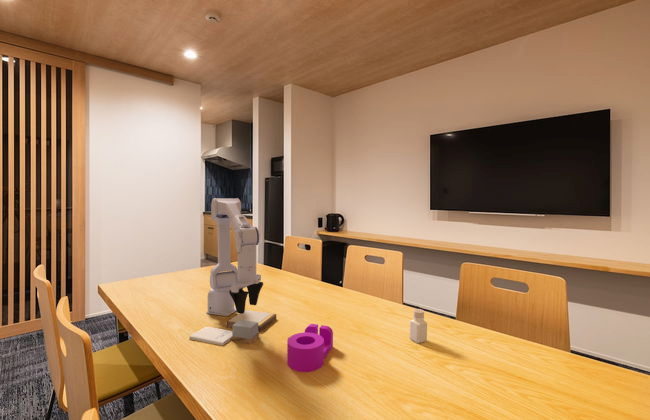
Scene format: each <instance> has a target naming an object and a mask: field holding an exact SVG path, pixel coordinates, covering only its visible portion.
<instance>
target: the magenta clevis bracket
mask: <svg viewBox="0 0 650 420" xmlns="http://www.w3.org/2000/svg"><path fill="white" fill-rule="evenodd" d="M286 343H287V344H286V345H287V347H286V348H287V351H286V352H287V353H286V354H287V355H286V359H287V361H286V364H287V366H288V367H289V368H290V369H291V370H293V371H295V372H300V373H310V372H314V371H317V370H319V369H321V368H322V367H323V366H324V363H325V362H324V361H325V359H326V357H327V355H328V354H329V353H330V352H331V350H332V349H333V347H334V331H333V329H332V327H330V326H329V325H323V324H321V325H320V327H319V324H317V323H310V324H309V325H307V326H306V327H305V328H304V332H298V333H295V334H293V335H290V336H289V337H288V338H287V341H286Z"/></svg>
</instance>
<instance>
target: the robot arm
mask: <svg viewBox="0 0 650 420" xmlns="http://www.w3.org/2000/svg"><path fill="white" fill-rule="evenodd" d="M210 210H211V211H210V212H211V213H210V214H211V216H210V217H211V220H212V221H215V222H216V230H217V231H216V233H217V234H216V235H217V236H216V237H217V239H216V240H217V241H216V242H217V264H216V265H215V266H212V268H211V269H210V276H209V285H210V289H209V291H208V293H207V311H206V314H209V315H217V316H223V317H224V316H225V317H229V315H231V314H233V313H235V312H236V313H237V314H240V313H241V314H243V313H244V311H245V310H246V303H247V298H248V301H249V302H248V303H249V305H250V306H257V304H258V300H259V295H260V292H261V290H262V288H263V286H264V282H263V281H261V280H262V275H261V274H257V246H258V245H259V243H260V230H259V229H258V227H257V226H252V225H251V223H250V222H249V220H248V218H247V217H246V216H245V215H244V214H241V212H242V202H241V200H240V199H239V198H238V197H236V198H216V197H213V198H212V200H211V204H210ZM231 229H232V231H233V233H234V242H235V251H236V253H237V267H236V266H235V265H234V264H232V263H231V261H232V260H231V258H232V257H231ZM245 288H246V289H247V291H246V290H244V289H245Z"/></svg>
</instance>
